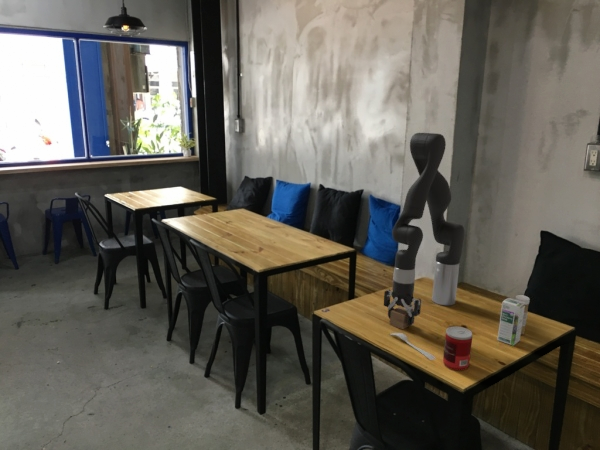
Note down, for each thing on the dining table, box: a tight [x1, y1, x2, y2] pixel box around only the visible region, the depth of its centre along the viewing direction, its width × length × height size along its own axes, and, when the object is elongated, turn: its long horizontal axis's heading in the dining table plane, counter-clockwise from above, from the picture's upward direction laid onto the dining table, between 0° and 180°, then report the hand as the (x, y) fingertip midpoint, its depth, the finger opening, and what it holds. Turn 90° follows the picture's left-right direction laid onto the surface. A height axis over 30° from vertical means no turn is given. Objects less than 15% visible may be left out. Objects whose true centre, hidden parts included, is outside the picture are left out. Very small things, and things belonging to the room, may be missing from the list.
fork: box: [388, 332, 437, 361], centre depth 158 cm, size 3×21×3 cm, turn 32°
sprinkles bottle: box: [514, 294, 531, 335], centre depth 168 cm, size 5×5×14 cm
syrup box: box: [497, 297, 525, 347], centre depth 161 cm, size 6×6×14 cm
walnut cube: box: [389, 306, 410, 330], centre depth 173 cm, size 6×6×6 cm
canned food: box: [442, 326, 473, 371], centre depth 146 cm, size 8×8×11 cm
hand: (400, 321), depth 173 cm, fingers open, 7 cm apart
